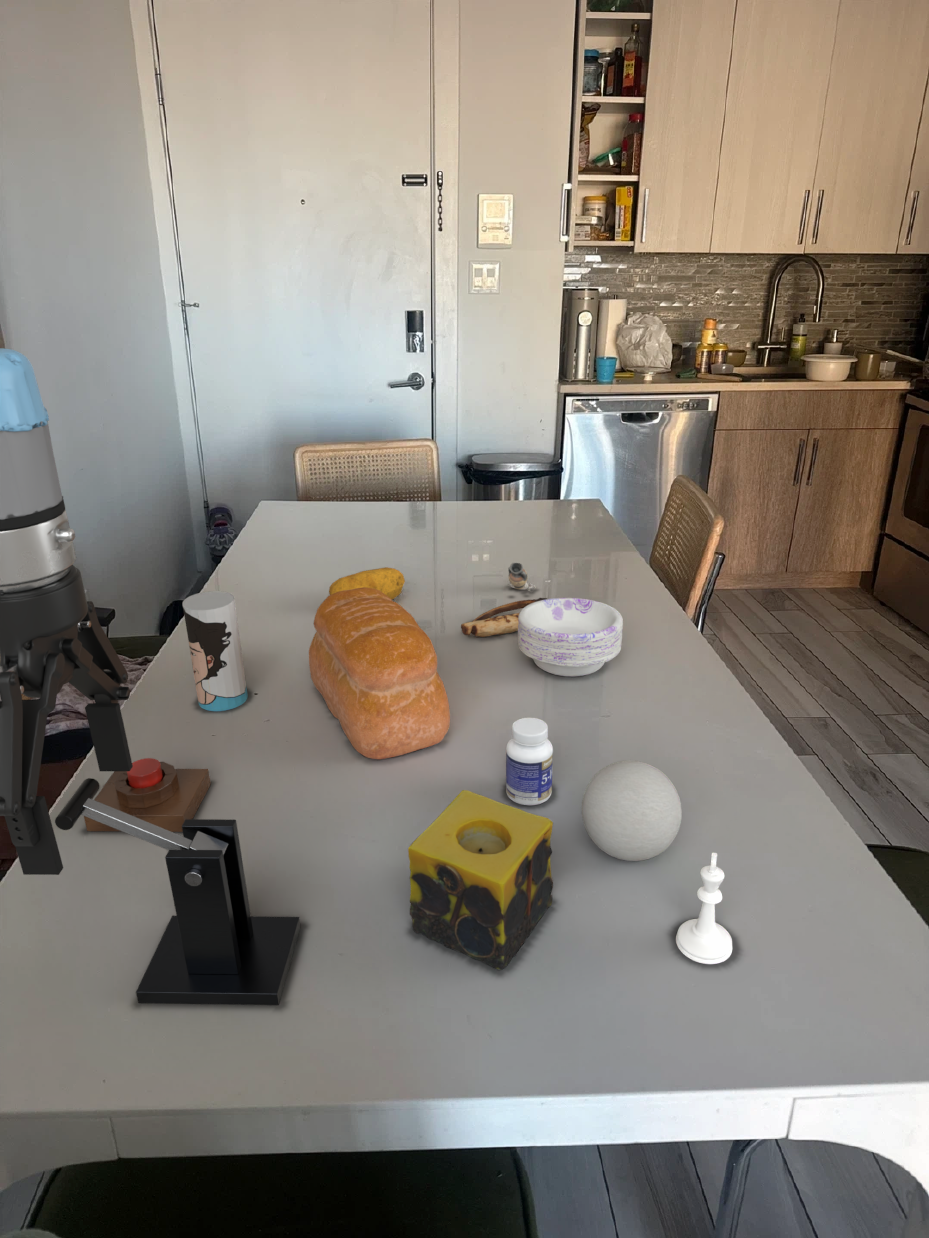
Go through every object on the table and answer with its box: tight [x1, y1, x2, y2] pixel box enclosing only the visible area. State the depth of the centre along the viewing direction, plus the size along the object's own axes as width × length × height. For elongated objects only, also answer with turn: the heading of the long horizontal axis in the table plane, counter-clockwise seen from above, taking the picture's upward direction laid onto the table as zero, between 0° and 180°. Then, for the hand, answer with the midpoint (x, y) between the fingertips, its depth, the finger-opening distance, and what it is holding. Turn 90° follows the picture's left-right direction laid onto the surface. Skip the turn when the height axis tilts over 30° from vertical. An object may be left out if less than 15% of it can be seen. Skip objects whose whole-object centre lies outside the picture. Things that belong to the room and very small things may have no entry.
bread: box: [308, 587, 451, 760], centre depth 115 cm, size 14×26×15 cm, turn 24°
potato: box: [328, 566, 406, 601], centre depth 150 cm, size 8×14×7 cm, turn 118°
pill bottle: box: [505, 717, 554, 806], centre depth 98 cm, size 5×5×9 cm
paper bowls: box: [517, 597, 624, 678], centre depth 128 cm, size 15×15×8 cm
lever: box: [54, 777, 228, 856], centre depth 72 cm, size 13×5×2 cm, turn 88°
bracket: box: [135, 818, 301, 1006], centre depth 75 cm, size 12×9×14 cm
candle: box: [407, 789, 554, 971], centre depth 80 cm, size 10×10×10 cm
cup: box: [182, 590, 249, 712], centre depth 119 cm, size 7×7×15 cm
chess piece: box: [675, 852, 733, 965], centre depth 77 cm, size 5×5×10 cm
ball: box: [581, 760, 683, 862], centre depth 89 cm, size 10×10×10 cm
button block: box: [83, 761, 212, 833], centre depth 98 cm, size 11×9×4 cm
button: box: [127, 757, 163, 788], centre depth 97 cm, size 4×4×2 cm
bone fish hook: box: [460, 597, 548, 638], centre depth 141 cm, size 9×5×18 cm
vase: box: [507, 562, 537, 592], centre depth 155 cm, size 5×5×6 cm
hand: (83, 816), depth 71 cm, fingers open, 13 cm apart
